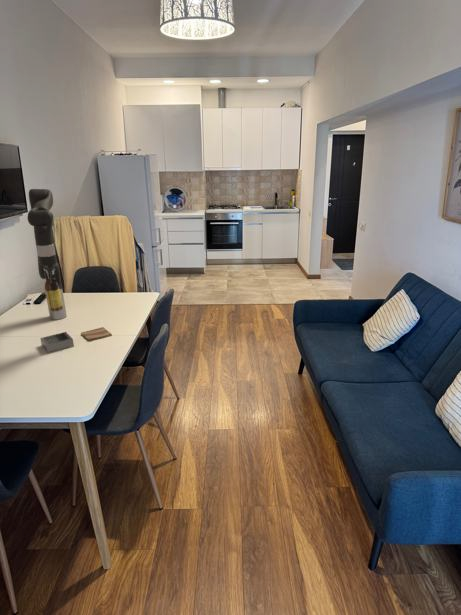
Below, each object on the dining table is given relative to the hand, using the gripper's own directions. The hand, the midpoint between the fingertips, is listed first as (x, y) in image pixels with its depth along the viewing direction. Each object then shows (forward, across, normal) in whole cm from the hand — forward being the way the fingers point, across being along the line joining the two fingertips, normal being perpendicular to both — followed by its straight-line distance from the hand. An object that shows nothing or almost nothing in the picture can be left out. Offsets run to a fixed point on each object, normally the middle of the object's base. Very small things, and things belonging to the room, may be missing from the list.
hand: (52, 288), depth 196 cm
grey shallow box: (+29, +1, -2) cm, 29 cm away
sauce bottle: (+11, 0, 0) cm, 11 cm away
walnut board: (+29, -1, +18) cm, 34 cm away
